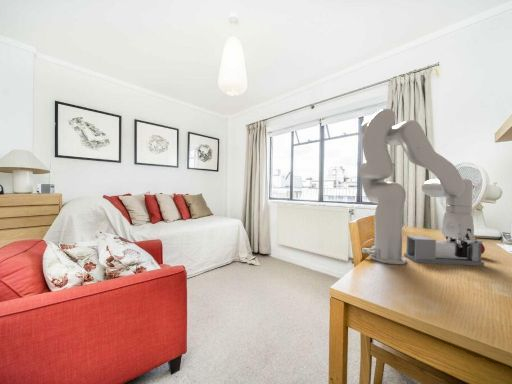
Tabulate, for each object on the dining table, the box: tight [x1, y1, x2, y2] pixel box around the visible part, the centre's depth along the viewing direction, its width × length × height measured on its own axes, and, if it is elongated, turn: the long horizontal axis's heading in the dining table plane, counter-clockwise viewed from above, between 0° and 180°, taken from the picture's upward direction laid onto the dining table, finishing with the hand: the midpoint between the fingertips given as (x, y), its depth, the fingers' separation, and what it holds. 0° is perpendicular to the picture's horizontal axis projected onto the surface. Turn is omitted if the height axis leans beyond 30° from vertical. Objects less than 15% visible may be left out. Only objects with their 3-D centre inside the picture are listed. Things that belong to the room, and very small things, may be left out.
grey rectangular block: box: [435, 240, 470, 259], centre depth 86 cm, size 16×4×6 cm, turn 83°
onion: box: [473, 237, 486, 255], centre depth 92 cm, size 6×6×8 cm
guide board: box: [403, 235, 485, 266], centre depth 86 cm, size 24×8×9 cm, turn 83°
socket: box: [462, 239, 483, 262], centre depth 85 cm, size 3×7×8 cm, turn 173°
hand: (457, 255), depth 85 cm, fingers open, 3 cm apart
